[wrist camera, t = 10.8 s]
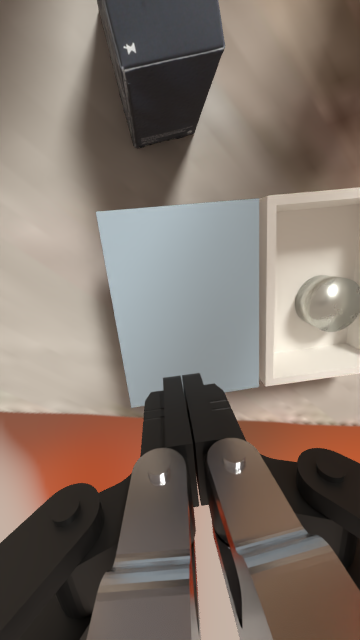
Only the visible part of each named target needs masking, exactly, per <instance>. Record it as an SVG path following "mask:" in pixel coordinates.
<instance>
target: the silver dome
mask: <svg viewBox="0 0 360 640" xmlns="http://www.w3.org/2000/svg"><path fill="white" fill-rule="evenodd" d="M295 310H296V313H297V315H298V316H299V318H300V319H301V320H303V321H304V322H306V323H308V324H310V325H312V326H315V327H317V328H319V329H321V330H323V331H326V332H336V331H340V330H342V329H344V328H346V327H348V326H349V325H350V324H351V323H352V322H353V321H354V320H355V319H356V318H357V316H358V315H359V313H360V287H359V285H358V284H357V283H356V282H354V281H353V280H351V279H348V278H342V277H336V276H329V275H318V276H315V277H312V278H310V279H309V280H307V281H306V282H305V283H304V284H303V285H302V286H301V287H300V289H299V291H298V293H297V295H296V298H295Z"/></svg>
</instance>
